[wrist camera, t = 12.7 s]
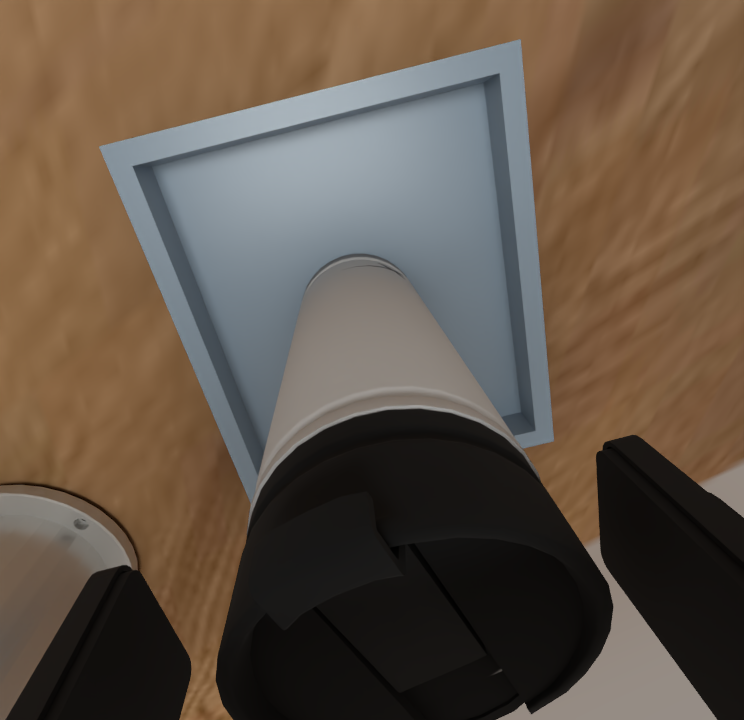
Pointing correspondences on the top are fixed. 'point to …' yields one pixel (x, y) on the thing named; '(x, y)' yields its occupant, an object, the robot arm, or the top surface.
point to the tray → (348, 229)
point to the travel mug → (399, 533)
